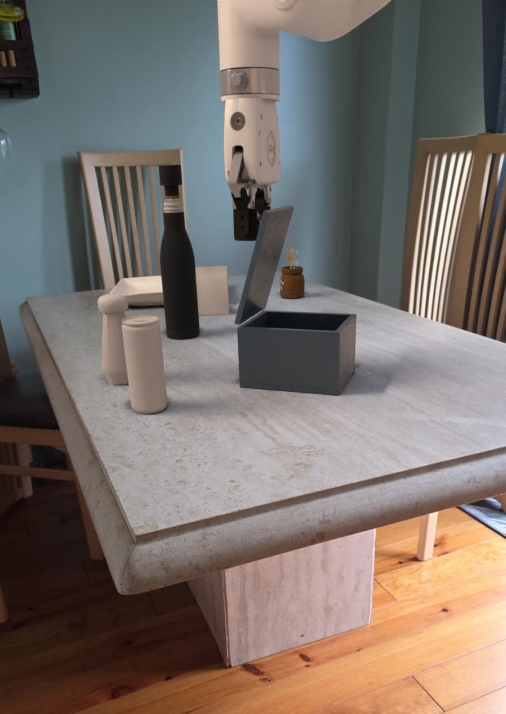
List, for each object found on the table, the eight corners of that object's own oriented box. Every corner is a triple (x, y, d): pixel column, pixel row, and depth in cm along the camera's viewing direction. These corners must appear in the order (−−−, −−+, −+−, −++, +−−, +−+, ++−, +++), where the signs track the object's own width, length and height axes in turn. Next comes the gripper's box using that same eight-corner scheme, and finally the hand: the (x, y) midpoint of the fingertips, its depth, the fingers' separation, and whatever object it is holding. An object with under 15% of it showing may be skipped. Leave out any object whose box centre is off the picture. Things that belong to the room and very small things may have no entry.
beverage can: (167, 413, 82) (158, 323, 77) (130, 416, 81) (118, 325, 76) (168, 401, 86) (160, 314, 81) (133, 403, 86) (123, 316, 81)
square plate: (226, 305, 145) (226, 288, 143) (108, 311, 143) (106, 294, 142) (223, 286, 169) (223, 271, 168) (123, 290, 168) (121, 276, 166)
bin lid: (294, 206, 89) (264, 196, 90) (269, 212, 79) (235, 200, 80) (265, 308, 96) (237, 297, 97) (239, 325, 87) (208, 313, 87)
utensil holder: (306, 294, 154) (306, 243, 149) (302, 299, 149) (302, 247, 144) (282, 294, 155) (282, 244, 150) (278, 299, 150) (277, 247, 145)
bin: (354, 371, 96) (356, 313, 92) (338, 395, 86) (339, 332, 82) (264, 364, 100) (263, 310, 97) (239, 387, 90) (236, 327, 87)
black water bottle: (172, 341, 116) (156, 165, 104) (162, 334, 122) (146, 165, 109) (204, 336, 119) (193, 164, 106) (193, 329, 124) (181, 164, 112)
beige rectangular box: (228, 314, 136) (226, 267, 132) (198, 315, 136) (194, 268, 132) (229, 310, 140) (227, 264, 135) (199, 312, 140) (196, 266, 135)
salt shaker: (142, 373, 98) (132, 290, 93) (142, 384, 93) (132, 296, 88) (104, 376, 97) (92, 292, 92) (102, 388, 92) (90, 299, 87)
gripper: (255, 79, 71) (258, 246, 78) (296, 92, 85) (295, 232, 93) (195, 83, 73) (203, 245, 81) (245, 95, 88) (248, 231, 95)
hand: (252, 236), depth 87 cm, fingers closed on bin lid, 5 cm apart
